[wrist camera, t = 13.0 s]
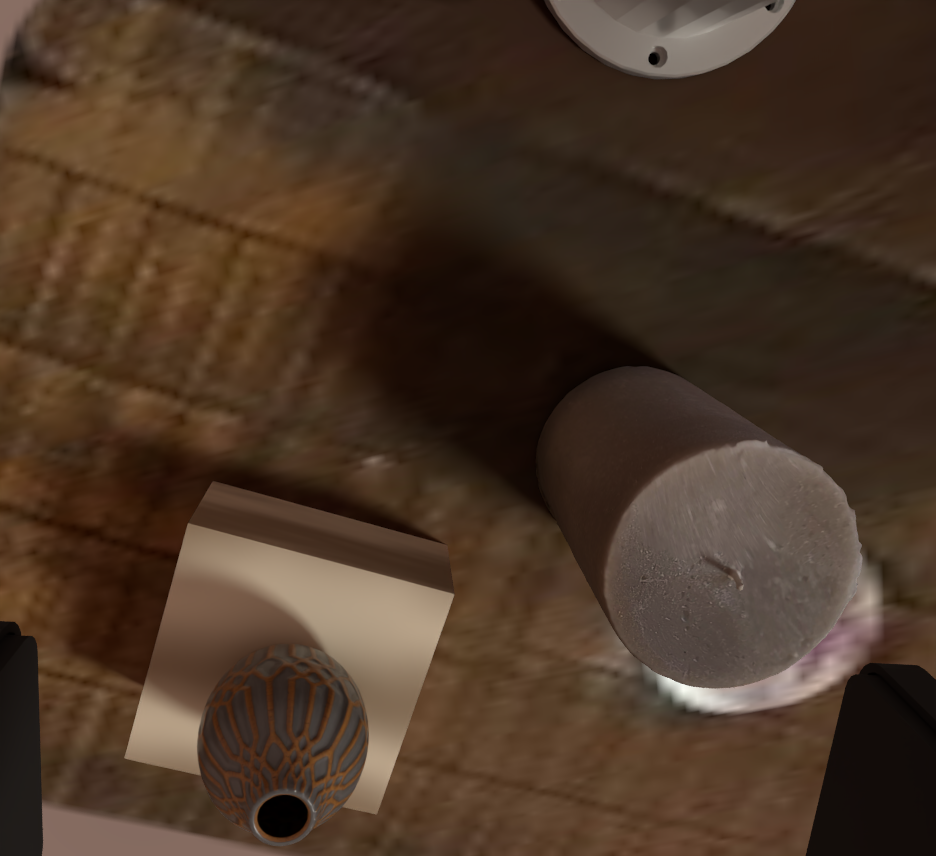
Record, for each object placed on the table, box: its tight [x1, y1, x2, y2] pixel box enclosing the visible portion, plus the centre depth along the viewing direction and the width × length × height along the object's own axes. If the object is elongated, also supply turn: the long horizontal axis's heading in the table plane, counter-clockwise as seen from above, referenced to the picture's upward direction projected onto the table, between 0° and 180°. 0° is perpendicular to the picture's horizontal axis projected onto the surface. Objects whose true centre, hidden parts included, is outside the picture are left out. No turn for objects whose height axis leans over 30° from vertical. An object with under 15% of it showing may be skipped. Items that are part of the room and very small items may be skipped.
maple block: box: [125, 481, 454, 814], centre depth 43 cm, size 12×12×6 cm
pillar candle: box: [536, 366, 862, 688], centre depth 38 cm, size 10×10×15 cm
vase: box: [197, 644, 369, 846], centre depth 36 cm, size 7×7×9 cm
